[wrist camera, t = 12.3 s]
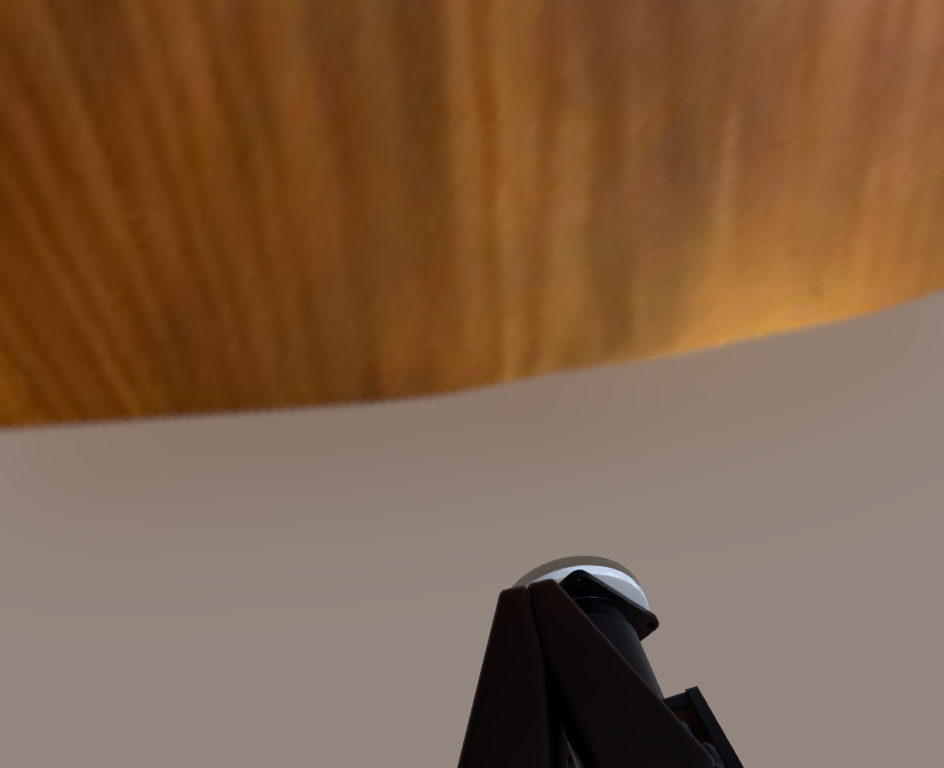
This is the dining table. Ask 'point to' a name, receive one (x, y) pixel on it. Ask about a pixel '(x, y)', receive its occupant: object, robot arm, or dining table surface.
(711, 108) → the dining table surface
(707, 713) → the robot arm
